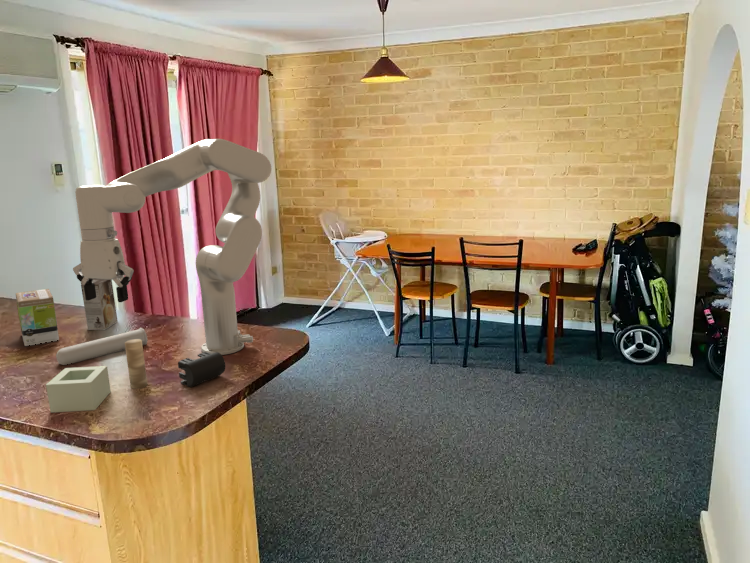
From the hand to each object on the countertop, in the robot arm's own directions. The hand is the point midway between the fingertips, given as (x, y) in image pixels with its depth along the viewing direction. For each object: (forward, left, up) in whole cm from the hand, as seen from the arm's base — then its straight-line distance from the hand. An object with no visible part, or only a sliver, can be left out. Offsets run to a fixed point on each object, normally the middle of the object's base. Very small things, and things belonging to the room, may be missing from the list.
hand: (107, 300), depth 145 cm
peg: (-8, +6, -22) cm, 24 cm away
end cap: (-24, +5, -22) cm, 33 cm away
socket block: (+3, +14, -22) cm, 26 cm away
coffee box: (+21, -48, -22) cm, 56 cm away
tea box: (+38, -38, -22) cm, 57 cm away
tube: (+11, -19, -22) cm, 31 cm away
